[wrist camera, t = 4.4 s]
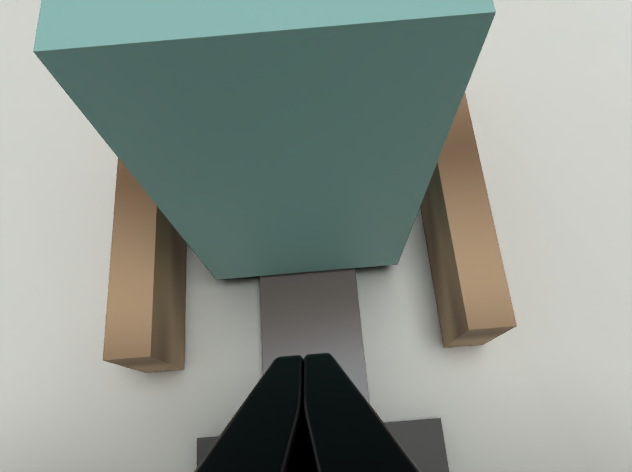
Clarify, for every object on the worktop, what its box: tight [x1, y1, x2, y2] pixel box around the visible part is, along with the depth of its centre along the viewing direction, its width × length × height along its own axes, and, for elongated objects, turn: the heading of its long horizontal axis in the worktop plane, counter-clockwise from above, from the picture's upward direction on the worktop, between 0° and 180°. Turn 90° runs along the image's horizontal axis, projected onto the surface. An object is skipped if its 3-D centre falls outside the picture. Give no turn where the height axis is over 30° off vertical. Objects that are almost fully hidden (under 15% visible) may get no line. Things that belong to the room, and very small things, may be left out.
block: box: [33, 0, 496, 280], centre depth 12 cm, size 5×6×10 cm
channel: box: [103, 92, 517, 472], centre depth 16 cm, size 28×10×3 cm, turn 4°
